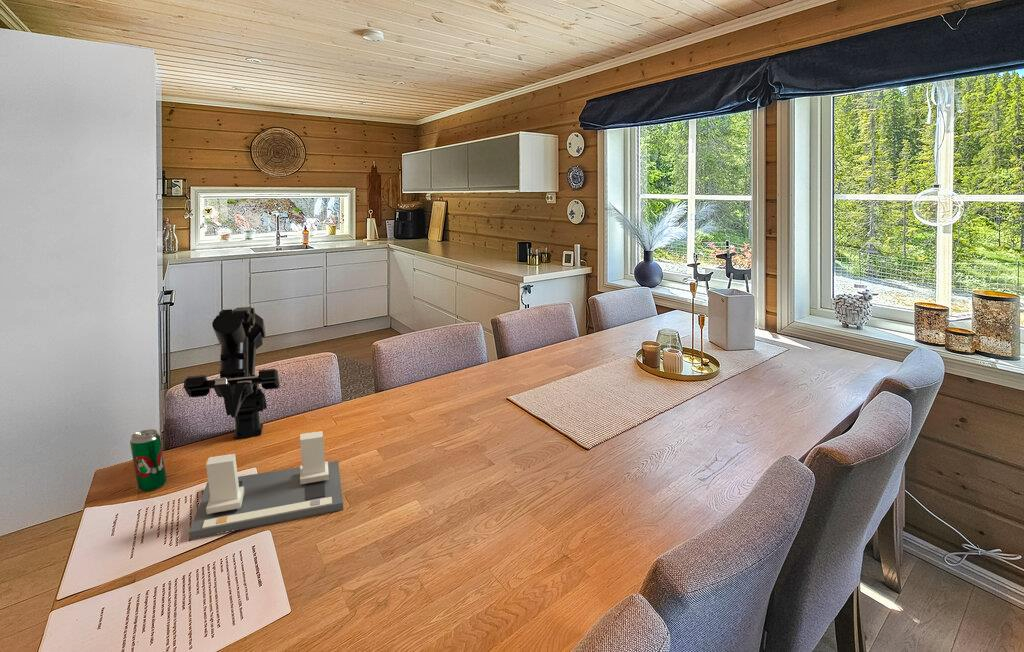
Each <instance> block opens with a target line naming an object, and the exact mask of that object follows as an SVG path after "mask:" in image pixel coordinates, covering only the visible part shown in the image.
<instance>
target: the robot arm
mask: <svg viewBox="0 0 1024 652" xmlns="http://www.w3.org/2000/svg"><path fill="white" fill-rule="evenodd" d="M211 326H212V329H213V331H214V334H215V337H216V338H217V340H218V343H219V344H220V355H219V356H220V359H219V361H220V363H219V364H220V365H219V366H220V367H219V377H218V378H217V377H216V378H214V379H209V380H208V377H206V375H205V374H202V375H190V376H186V377H185V378H184V380H183V388H184V390H185V392H186V393H187V396H188V397H189V398H200V397H206V396H207V395H209V394H210V392H211V391H210V390H212V389H213V390H214V392H215V394H216V396H217V397H218V398H223V402H224V409H225V413H226V416H230V418H232V419H234V423H235V424H234V426H235V430H234V433H233V436H232V437H233V439H241V438H248V437H255V436H261V435H262V434H263V429H264V423H261V420H260V412H264V410H266V409H268V404H267V399H266V395H265V393H264V392H263V390H262V389H264V390H265V391H267V390H268V391H269V390H276V389H280V387H281V384H280V383H281V382H280V375H279V371H278V370H277V369H276V368H269V369H267V368H266V369H265V368H264V369H259V370H258V375H256V374H255V372H256V360H257V359H256V357H257V350H258V349H259V348H260V347H262V345H264V344H263V343H264V338H266V327H265V322H264V319H263V318H262V316H260V315H258V314H257V313H256V310H255V307H251V306H246V307H244V306H243V307H236V308H230V309H229V308H228V309H223V310H219V312H218V314H217V315H216V316H215V318H214V319H213V320H212V322H211ZM259 385H261V387H262V388H260V386H259Z"/></svg>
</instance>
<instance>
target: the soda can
mask: <svg viewBox="0 0 1024 652" xmlns="http://www.w3.org/2000/svg"><path fill="white" fill-rule="evenodd" d="M130 436H131V439H130V440H129V443H130V444H129V445H130V451H131V456H132V461H133V468H134V473H135V474H134V475H135V479H136V484H137V489H138V490H140V491H143V492H151V491H155V490H158V489H160V488H162V487H164V486H165V484H166V483H167V482H168V477H167V472H166V465H165V459H164V453H163V447H162V438H161V434H159V433H158V430H156V429H143V430H140V431H136V432H135V433H133V434H132V435H130Z"/></svg>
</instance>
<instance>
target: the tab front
mask: <svg viewBox="0 0 1024 652" xmlns="http://www.w3.org/2000/svg"><path fill="white" fill-rule="evenodd" d="M236 459H237V457H236V453H229V454H224V455H216V456H210V457H208V459H207V461H206V464H205V467H206V473H207V482H208V483H209V490H210V498H209V501H208V504H207V507H206V511H207V514H211V513H216V512H222V511H227V510H233V509H238V508H241V505H242V501H243V496H244V486H243V487H239V482H238V477H239V476H238V468H237V467H238V466H237V460H236Z"/></svg>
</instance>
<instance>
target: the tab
mask: <svg viewBox="0 0 1024 652" xmlns="http://www.w3.org/2000/svg"><path fill="white" fill-rule="evenodd" d="M299 440H300V441H299V442H300V452H301V453H300V454H301V465H300V466H299V467H300V484H306V483H312V482H318V481H323V480H329V471H328V462H329V461H325V459H326V458H325V446H324V434H323V430H321V431H313V432H305V433H300V436H299Z"/></svg>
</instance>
